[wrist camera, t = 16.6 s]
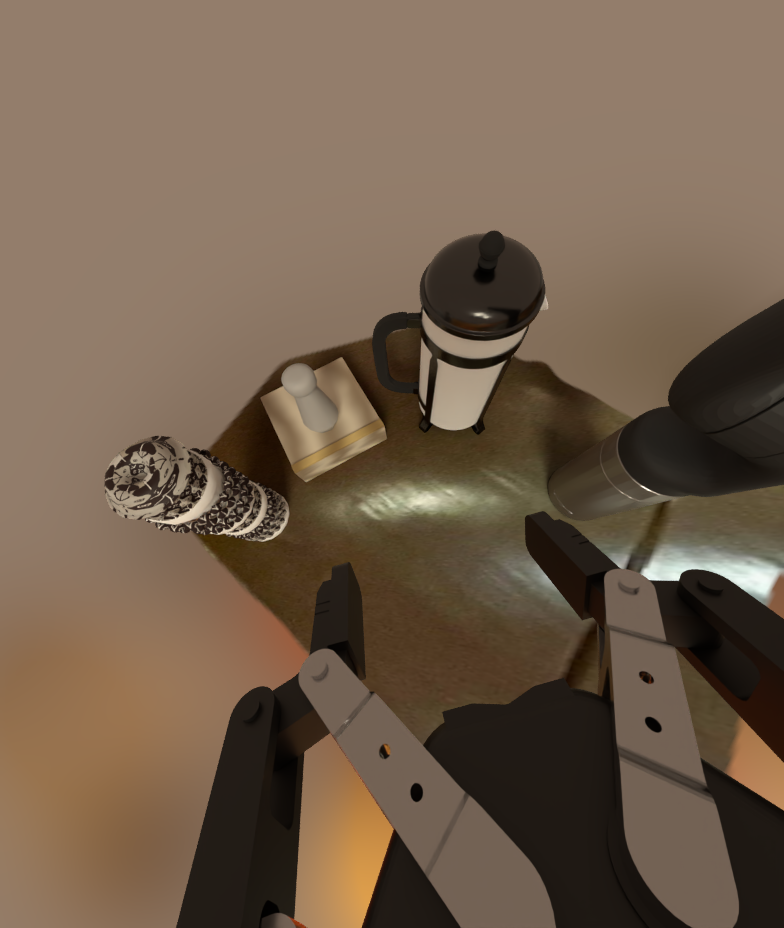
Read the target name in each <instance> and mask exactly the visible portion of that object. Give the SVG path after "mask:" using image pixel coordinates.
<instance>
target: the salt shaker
mask: <svg viewBox="0 0 784 928" xmlns="http://www.w3.org/2000/svg"><path fill="white" fill-rule="evenodd" d="M281 380H282V384H283V387H284V389H285V390H286V391H287V392H288V393H289V394H290V395H292V396H294V397H295V400H296V403H297V406H298V409H299V412H300V415H301V418H302V420H303V423H304V425H305V426H306V427H308V428H309V429H310V430H312V431H315V432H319V433H324V432H327V431H329V430H332V429H333V428H334V425H335V423H336V422H337V420H338V410H337V407H336V405H335V404H334V403H333V402H332V400H331V399H330V398H329V397H328V396H327V395H326V394H325V393H324V392H323V391H322V390H321V389H320V388H319V387H318V386H317V385H316V384H317V379H316V376H315V373H314V371H313V370H312V369H311V368H310V367H309V366H308V365H306V364H302V363H297V364H292V365H291V366H289V367H287V368H286V370H285V371H284V372H283V373H282V378H281Z"/></svg>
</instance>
